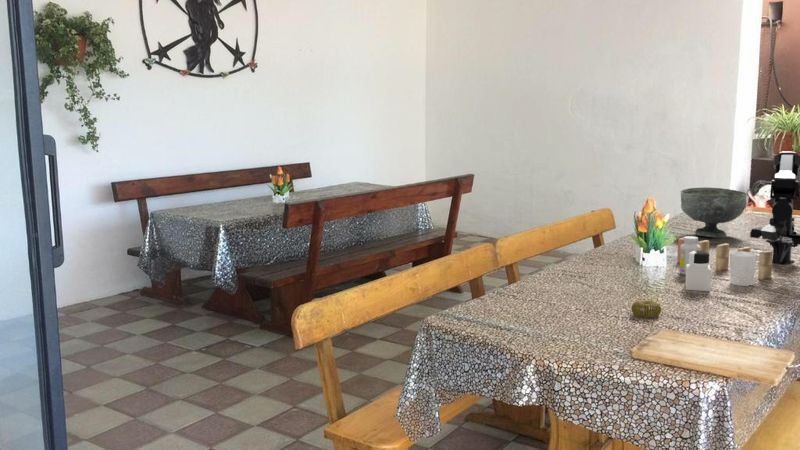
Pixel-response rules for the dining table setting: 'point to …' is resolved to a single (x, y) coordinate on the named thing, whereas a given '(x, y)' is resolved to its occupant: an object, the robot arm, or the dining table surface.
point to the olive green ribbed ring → (646, 313)
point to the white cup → (742, 268)
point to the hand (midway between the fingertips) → (779, 261)
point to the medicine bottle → (698, 271)
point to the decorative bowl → (712, 207)
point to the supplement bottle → (687, 251)
